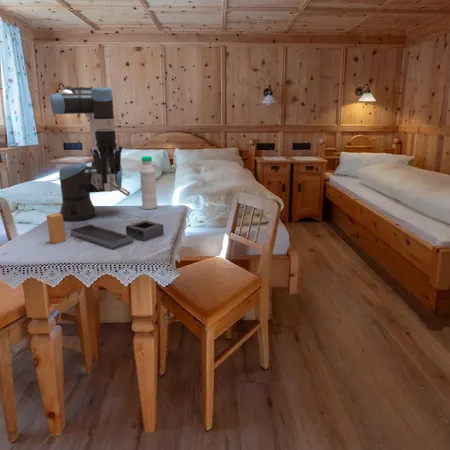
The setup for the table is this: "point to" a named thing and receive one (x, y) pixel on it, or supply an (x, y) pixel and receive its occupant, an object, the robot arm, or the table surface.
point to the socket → (145, 230)
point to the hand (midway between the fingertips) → (110, 190)
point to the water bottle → (148, 184)
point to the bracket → (99, 177)
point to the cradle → (101, 236)
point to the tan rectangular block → (56, 228)
